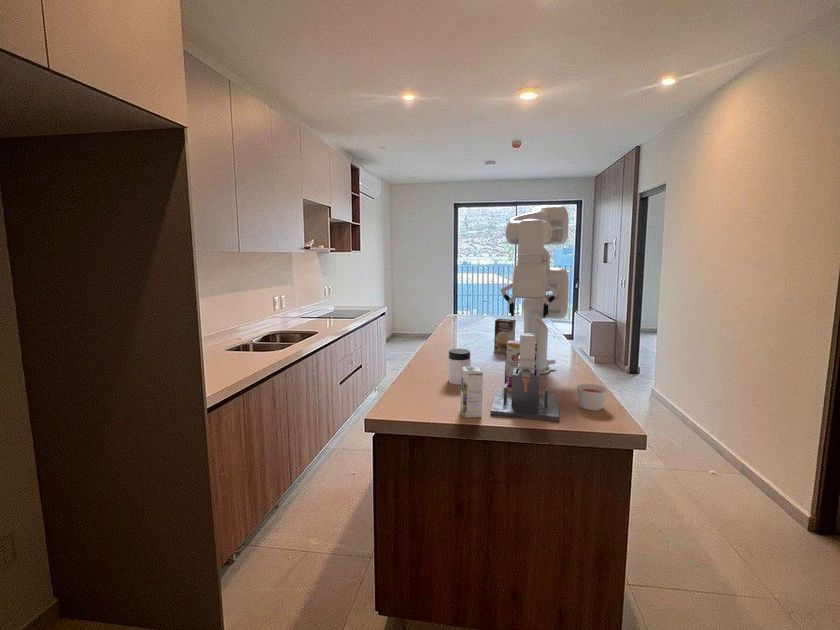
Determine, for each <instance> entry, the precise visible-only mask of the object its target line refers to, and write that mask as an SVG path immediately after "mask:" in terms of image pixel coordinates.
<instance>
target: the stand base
mask: <svg viewBox="0 0 840 630" xmlns="http://www.w3.org/2000/svg"><path fill="white" fill-rule="evenodd" d="M518 371H519V369H518V368H514V370H513V374H512V386H511V390H508V386H507V384H505V383H504V387H503V390H501V389H496V390H495V395H494V399H493V402H492V404H491V408H490V416H495V417H504V418H513V419H514V418H516V419H523V420H535V421H544V422H545V421H547V422H555V423H557V422H558V423H560V412H559V404H558V395H557V394H552V393H551V394H549V393H548V391H549V390H548V388H549V387H548V386H544V393H542V392H541V393H540V379H541V376H540V375H541V374H540V370H538V369H535V370H534V371H535V372H534V375H530V371H522V375H520V374H518Z"/></svg>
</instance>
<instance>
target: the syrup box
mask: <svg viewBox="0 0 840 630" xmlns="http://www.w3.org/2000/svg"><path fill="white" fill-rule="evenodd" d="M483 382H484V371H483V370H482V369H481V368H480V367H479V366H473V365H472V366H466V367H462V376H461V385H460V413H461V416H462V418H465V419H468V418H482V416H483V415H482V411H483V410H482V409H483Z"/></svg>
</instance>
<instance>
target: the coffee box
mask: <svg viewBox="0 0 840 630" xmlns="http://www.w3.org/2000/svg"><path fill="white" fill-rule="evenodd" d="M516 322H517V320H516V319H506V318H496V319H495V320H494V337H493V338H494V339H493V341H494V344H493V353H494V354H503V355H506V343H507V341H516Z"/></svg>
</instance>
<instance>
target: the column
mask: <svg viewBox="0 0 840 630" xmlns="http://www.w3.org/2000/svg"><path fill="white" fill-rule="evenodd" d="M519 341H520V355H519V358H518V361H519V365H518V369H519V371H518V374H520V375H522V371H530V375H534V372H535V371H534V370H535V363H534V362H535V356H534V347H535V333H524V332H520V336H519Z"/></svg>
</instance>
